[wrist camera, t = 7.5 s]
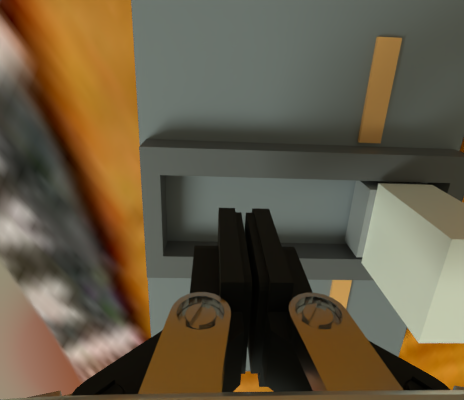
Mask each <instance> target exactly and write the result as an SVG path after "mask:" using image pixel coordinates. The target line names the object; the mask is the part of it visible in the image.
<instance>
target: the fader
mask: <svg viewBox="0 0 464 400" xmlns="http://www.w3.org/2000/svg"><path fill="white" fill-rule="evenodd" d="M345 242H346V243H347V245H348V246H349V248H350V249H351V250H352V252H353V253H354V255H355V256H356V257H363V258H362V262H361V263H362V264H363V266H364V267H365V269H366V270H367V271H368V273H369V274H370V276H371V277H372V278H373V280H374V281H375V283H376V284H377V285H378V287H379V288H380V290H381V291H382V292H383V294H384V295H385V297H386V298H387V299H388V301H389V302H390V304H391V305H392V306H393V308H394V309H395V311H396V312H397V313H398V315H399V316H400V318H401V319H402V320H403V322H404V323H405V325H406V326H407V327H408V329H409V330H410V332H411V333H412V334H413V336H414V337H415V339H416V340H417V341H418V343H464V203H463V202H461V201H459V200H458V199H456V198H454V197H452V196H451V195H449V194H447V193H445V192H444V191H442V190H440V189H439V188H437V187H435V186H433V185H425V184H424V183H422V182H391V181H356V183H355V188H354V194H353V199H352V204H351V210H350V215H349V220H348V226H347V231H346V236H345Z"/></svg>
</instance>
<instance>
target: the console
mask: <svg viewBox="0 0 464 400" xmlns="http://www.w3.org/2000/svg"><path fill="white" fill-rule="evenodd" d="M131 3H132V20H133V37H134V54H135V71H136V88H137V105H138V122H139V138H140V147H139V150H140V167H141V183H142V200H143V217H144V233H145V250H146V267H147V278H148V291H149V308H150V325H151V337H153V336H154V335H156V334H157V333H159V332H160V331H162V330H163V328H164V325H165V323H166V320H167V317H168V315H169V312H170V310H171V308H172V306H173V304H174V303H175V302H176V301H177V300H178V299H179V298H181V297H183V296H185V295H187V294H190V285H191V275H192V266H193V256H194V246H195V245H209V246H217V244H218V212H219V208H235V212H241V214H242V220H243V226H244V231H245V216H246V212H247V213H252V208H260V209H269V210H270V213H271V216H272V219H273V222H274V225H275V228H276V231H277V234H278V237H279V240H280V243H281V246H286V247H294V248H295V249H296V252H297V254H298V257H299V259H300V262H301V264H302V267H303V269H304V272H305V274H306V277H307V279H308V282H309V284H310V287H311V289H312V292H313V293H319V294H324V295H327V296H329V297H332V298H334V299H335V300H337V301H338V302H340V303H341V304H342V305H343V306H344V308H345V309H346V310H347V311H348V313H349V314H350V316H351V317H352V318H353V320H354V321H355V323H356V324H357V325H358V327H359V328H360V330H361V331H362V332H363V334H364V335H365V337H366V338H367V339H368V340H369V341H371V342H372V343H374V344H376V345H378V346H380V347H381V348H383V349H385V350H387V351H388V352H390V353H392V354H394V355H396V356H397V357H398V356H399V352H400V349H401V346H402V342H403V339H404V336H405V332H406V329H407V326H406V325H405V323H404V322H403V320H402V319H401V318H400V316H399V315H398V313H397V312H396V311H395V309H394V308H393V306H392V305H391V304H390V302H389V301H388V299H387V298H386V297H385V295H384V294H383V292H382V291H381V290H380V288H379V287H378V285H377V284H376V283H375V281H374V280H373V278H372V277H371V276H370V274H369V273H368V271H367V270H366V269H365V267H364V266H363V264H362V263H361V262H362V258H363V257H356V256H355V255H354V253H353V252H352V250H351V249H350V248H349V246H348V245H347V243H346V242H345V236H346V231H347V226H348V220H349V215H350V210H351V204H352V199H353V194H354V188H355V183H356V181H391V182H422V183H424V184H425V185H433V186H435V187H437V188H439V189H440V190H442V191H444V192H445V193H447V194H449V195H451V196H452V197H454V198H456V199H458V200H459V201H461V202H462V200H463V197H464V153H463V152H460V148H461V144H462V141H463V137H464V0H131ZM246 371H250V363H249V354H248V347H247V359H246Z"/></svg>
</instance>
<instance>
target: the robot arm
mask: <svg viewBox="0 0 464 400" xmlns="http://www.w3.org/2000/svg"><path fill="white" fill-rule="evenodd" d="M247 347H248V354H249V363H250V371H251V373H258V380H259V387H269V388H270V389H272V390H273V391H274V392H233V391H234V390H235V389H236V388H237V387H238V386H239V385H240V380H241V374H245V371H246V359H247ZM1 400H464V387H459V386H454V388H453V390H450V389H449V388H448V387H447V386H446V385H445V384H443V383H442V382H440V381H439V380H438V379H436V378H435V377H433V376H431V375H429V374H428V373H426V372H424V371H422V370H421V369H419V368H417V367H415V366H413V365H412V364H410V363H408V362H406V361H404V360H403V359H401V358H399V357H397V356H396V355H394V354H392V353H390V352H388V351H387V350H385V349H383V348H381V347H380V346H378V345H376V344H374V343H372V342H371V341H369V340H368V339H367V338H366V337H365V335H364V334H363V332H362V331H361V330H360V328H359V327H358V325H357V324H356V323H355V321H354V320H353V318H352V317H351V316H350V314H349V313H348V311H347V310H346V309H345V308H344V306H343V305H342V304H341V303H340V302H338V301H337V300H335V299H334V298H332V297H329V296H327V295H324V294H319V293H313V292H312V289H311V287H310V284H309V282H308V279H307V277H306V274H305V272H304V269H303V267H302V264H301V262H300V259H299V257H298V254H297V252H296V249H295V248H294V247H286V246H281V243H280V240H279V237H278V234H277V231H276V228H275V225H274V222H273V219H272V216H271V213H270V210H269V209H260V208H252V213H247V212H246V216H245V231H244V226H243V220H242V214H241V212H235V208H219V212H218V244H217V246H209V245H195V246H194V256H193V266H192V275H191V285H190V294H187V295H185V296H183V297H181V298H179V299H178V300H177V301H176V302H175V303H174V304H173V306H172V308H171V310H170V312H169V315H168V317H167V320H166V323H165V325H164V328H163V330H162V331H160V332H159V333H157V334H156V335H154V336H153V337H151V338H150V339H148V340H147V341H145V342H144V343H142V344H141V345H139V346H138V347H136V348H135V349H133V350H132V351H130V352H129V353H127V354H126V355H124V356H122V357H121V358H119V359H118V360H116V361H115V362H113V363H112V364H110V365H109V366H107V367H106V368H104V369H103V370H101V371H100V372H98V373H97V374H95V375H94V376H92V377H91V378H89V379H87V380H86V381H85V382H84V383H82V384H81V385H80V386H79V387H77V388H76V389H75V391H74V392H73V393H72V394H69V395H64V396H62V395H61V391H56V392H51V393H46V394H42V395H37V396H32V397H27V398H17V399H1Z"/></svg>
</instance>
